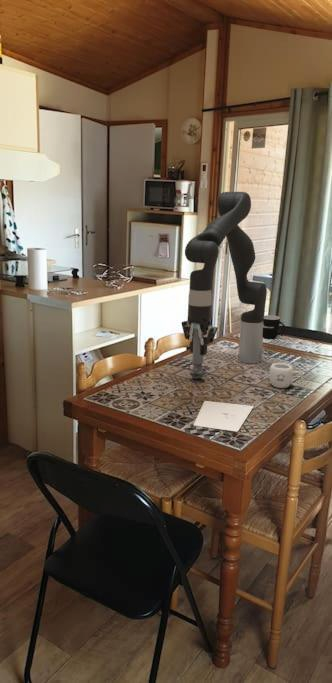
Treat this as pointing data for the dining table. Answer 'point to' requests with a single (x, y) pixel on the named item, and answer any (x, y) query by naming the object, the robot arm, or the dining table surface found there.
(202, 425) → the paper sheet
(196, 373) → the weathered grey finial
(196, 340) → the marker
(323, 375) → the dining table surface
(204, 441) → the dining table surface
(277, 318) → the mug
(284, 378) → the mug
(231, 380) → the dining table surface
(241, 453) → the dining table surface
